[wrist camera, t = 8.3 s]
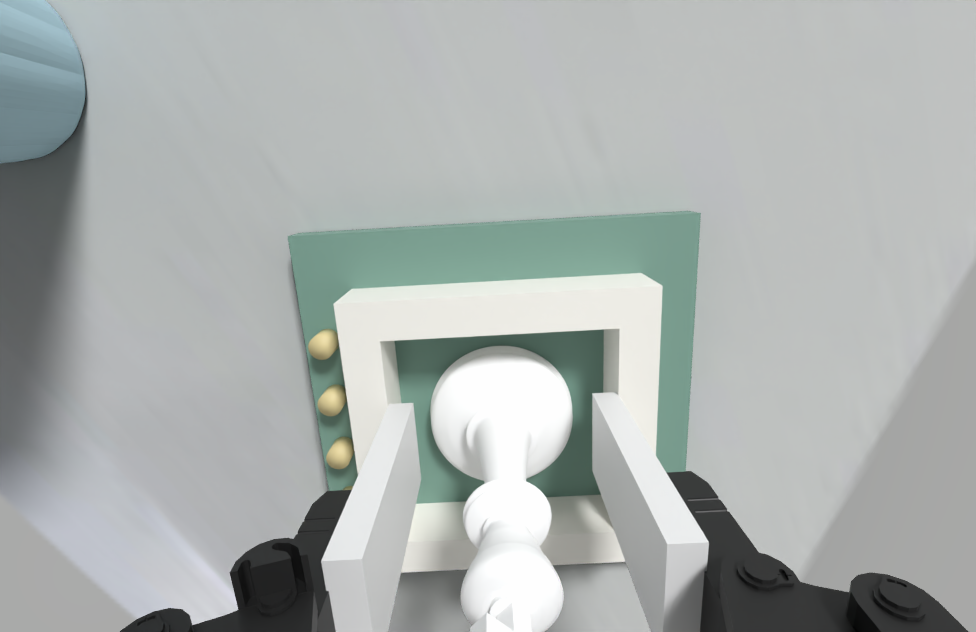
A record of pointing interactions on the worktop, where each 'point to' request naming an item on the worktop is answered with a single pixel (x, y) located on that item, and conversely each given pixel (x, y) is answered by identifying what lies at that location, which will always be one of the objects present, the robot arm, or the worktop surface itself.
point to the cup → (37, 80)
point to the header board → (501, 322)
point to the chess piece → (505, 479)
